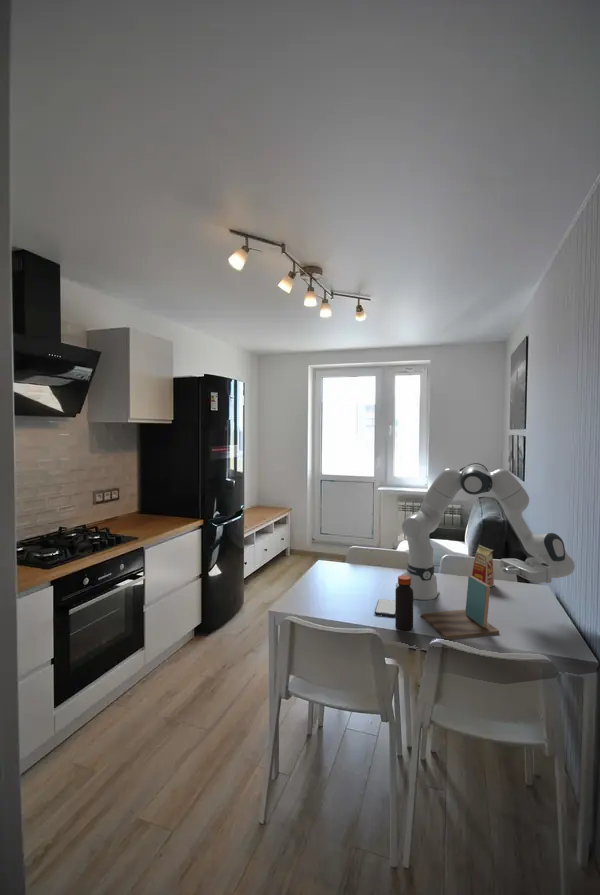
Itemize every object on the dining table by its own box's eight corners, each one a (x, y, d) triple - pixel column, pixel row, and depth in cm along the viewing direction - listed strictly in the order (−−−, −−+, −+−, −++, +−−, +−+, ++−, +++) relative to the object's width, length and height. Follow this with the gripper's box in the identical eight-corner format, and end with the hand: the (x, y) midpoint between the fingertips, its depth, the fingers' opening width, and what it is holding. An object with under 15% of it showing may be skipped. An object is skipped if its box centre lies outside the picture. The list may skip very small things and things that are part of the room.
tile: (464, 614, 176) (468, 575, 175) (468, 614, 176) (472, 575, 176) (482, 627, 164) (486, 586, 164) (486, 627, 164) (490, 586, 164)
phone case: (378, 602, 194) (374, 616, 179) (378, 598, 194) (374, 612, 179) (398, 604, 192) (395, 618, 177) (398, 600, 192) (395, 614, 177)
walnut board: (420, 616, 178) (420, 613, 178) (468, 611, 182) (468, 609, 182) (445, 639, 158) (445, 636, 158) (499, 633, 162) (499, 630, 162)
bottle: (410, 623, 171) (410, 574, 170) (415, 631, 164) (415, 580, 164) (393, 623, 171) (393, 574, 170) (397, 631, 164) (398, 580, 163)
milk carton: (470, 585, 213) (470, 545, 212) (478, 580, 219) (479, 542, 218) (488, 590, 206) (488, 549, 206) (496, 585, 213) (497, 545, 212)
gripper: (517, 553, 184) (488, 555, 182) (554, 568, 164) (522, 570, 162) (517, 568, 184) (488, 570, 182) (554, 584, 164) (522, 587, 162)
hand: (505, 570), depth 172 cm, fingers closed
